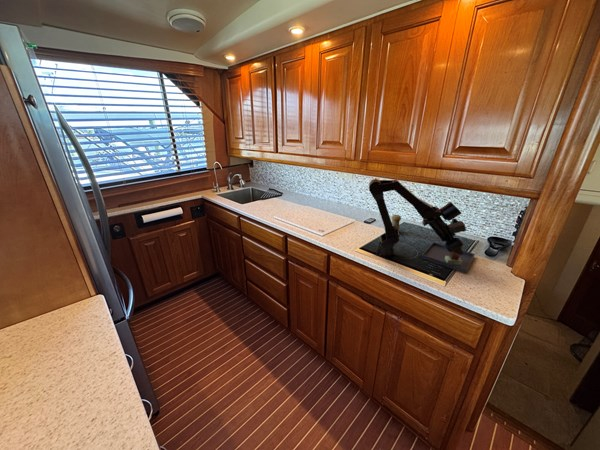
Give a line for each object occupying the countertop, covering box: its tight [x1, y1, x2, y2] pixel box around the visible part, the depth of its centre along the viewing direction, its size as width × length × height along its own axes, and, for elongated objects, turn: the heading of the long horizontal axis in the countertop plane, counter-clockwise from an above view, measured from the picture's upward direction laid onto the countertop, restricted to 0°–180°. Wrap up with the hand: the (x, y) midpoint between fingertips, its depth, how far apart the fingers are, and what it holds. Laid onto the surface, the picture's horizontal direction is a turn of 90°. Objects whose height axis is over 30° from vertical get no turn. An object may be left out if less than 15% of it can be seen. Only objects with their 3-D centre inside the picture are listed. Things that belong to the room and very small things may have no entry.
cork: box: [391, 214, 402, 232], centre depth 143 cm, size 6×6×11 cm
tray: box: [420, 241, 476, 274], centre depth 117 cm, size 19×19×2 cm
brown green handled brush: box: [445, 245, 464, 265], centre depth 111 cm, size 6×4×10 cm, turn 77°
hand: (459, 250), depth 110 cm, fingers open, 7 cm apart
